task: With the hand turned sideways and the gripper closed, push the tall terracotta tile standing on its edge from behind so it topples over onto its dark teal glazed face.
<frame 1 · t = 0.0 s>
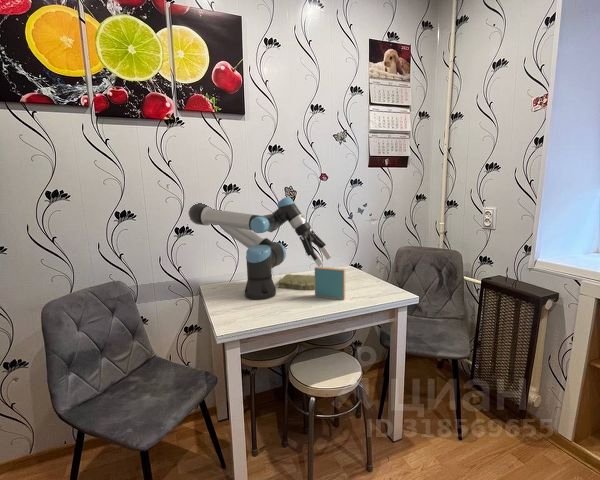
hand: (325, 261, 157), 15 cm above the table, tool tilted 35°, fingers open, 13 cm apart
standing tile: (329, 297, 152), on the table
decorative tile: (299, 285, 173), on the table
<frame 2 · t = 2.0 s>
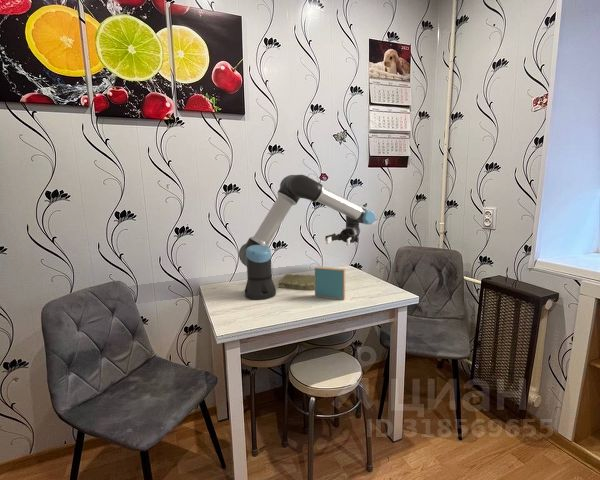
hand: (337, 241, 159), 24 cm above the table, tool horizontal, fingers open, 10 cm apart
nothing on the table moved.
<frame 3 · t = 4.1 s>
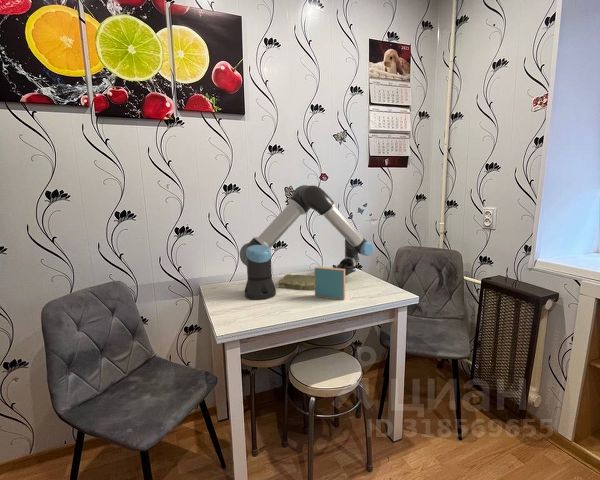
hand: (335, 276, 159), 7 cm above the table, tool horizontal, fingers closed
nothing on the table moved.
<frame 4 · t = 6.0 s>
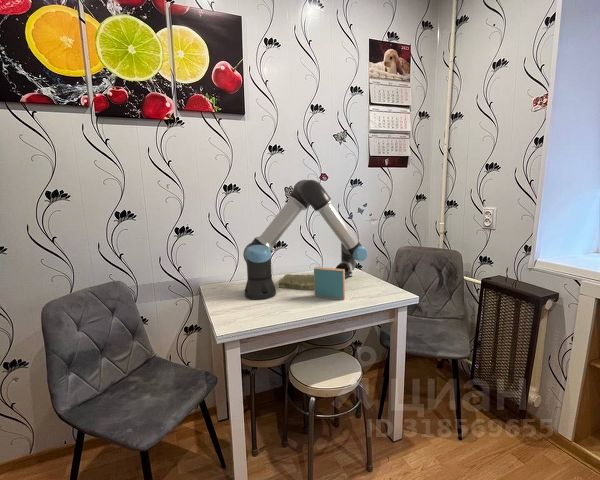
hand: (330, 282, 152), 7 cm above the table, tool horizontal, fingers closed
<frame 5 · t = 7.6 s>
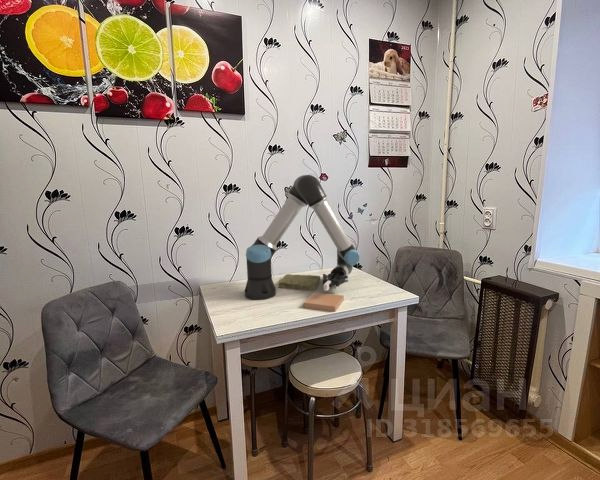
hand: (325, 287, 144), 7 cm above the table, tool horizontal, fingers closed
standing tile: (329, 296, 150), point 1 cm above the table, tilted 90°
everything else where it was.
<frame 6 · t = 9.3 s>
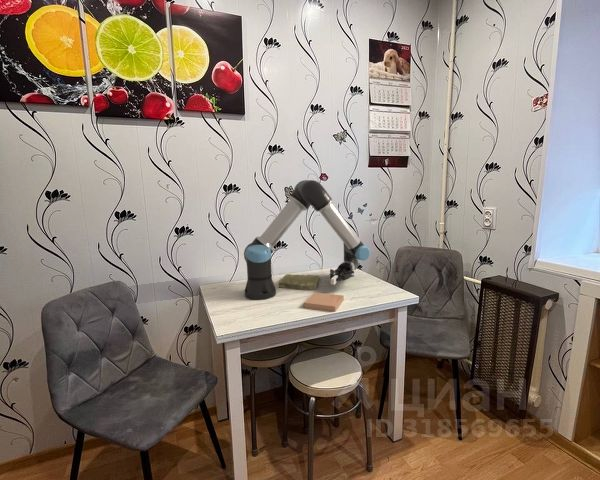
hand: (332, 281, 151), 7 cm above the table, tool horizontal, fingers closed
nothing on the table moved.
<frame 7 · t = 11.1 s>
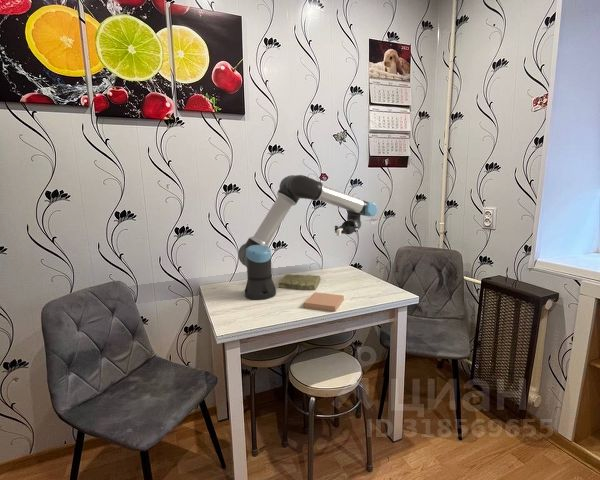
hand: (338, 232, 159), 28 cm above the table, tool horizontal, fingers closed
nothing on the table moved.
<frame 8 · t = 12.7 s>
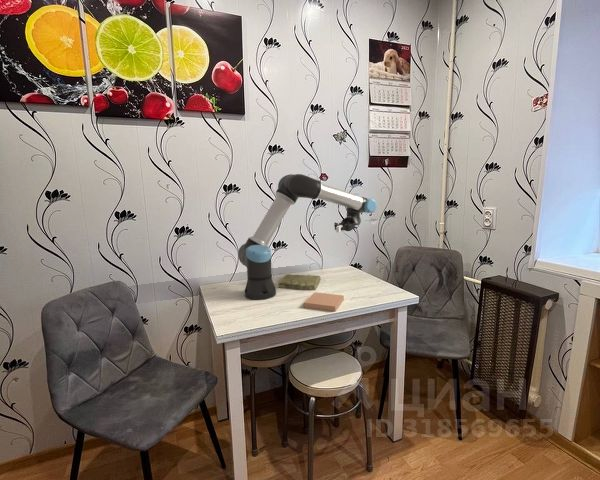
hand: (337, 229, 159), 30 cm above the table, tool horizontal, fingers closed
nothing on the table moved.
at the end: standing tile tilted 90°; standing tile inside the target area (3.9 cm from its centre), point 1.0 cm above the table; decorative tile moved 0.8 cm from its start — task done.
